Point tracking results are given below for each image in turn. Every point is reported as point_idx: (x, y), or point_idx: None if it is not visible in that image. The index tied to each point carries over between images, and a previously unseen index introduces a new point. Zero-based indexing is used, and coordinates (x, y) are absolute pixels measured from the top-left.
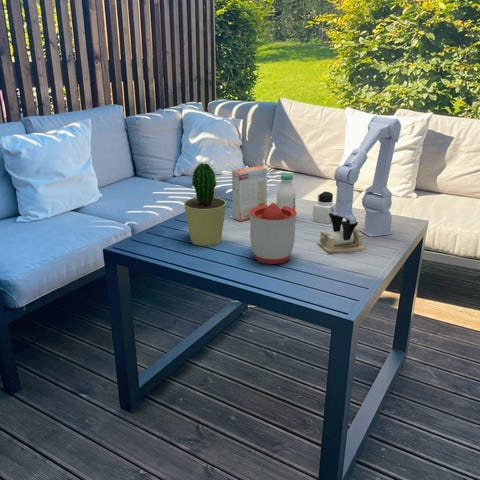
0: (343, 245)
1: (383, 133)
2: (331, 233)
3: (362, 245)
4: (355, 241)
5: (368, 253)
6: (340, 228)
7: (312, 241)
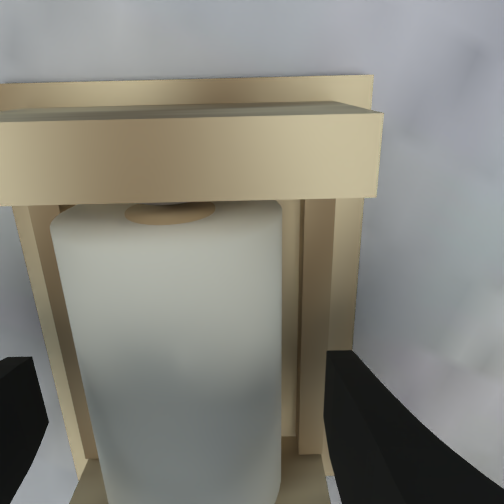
0: None
1: None
2: (136, 250)
3: None
4: None
5: None
6: (334, 475)
7: (476, 55)
